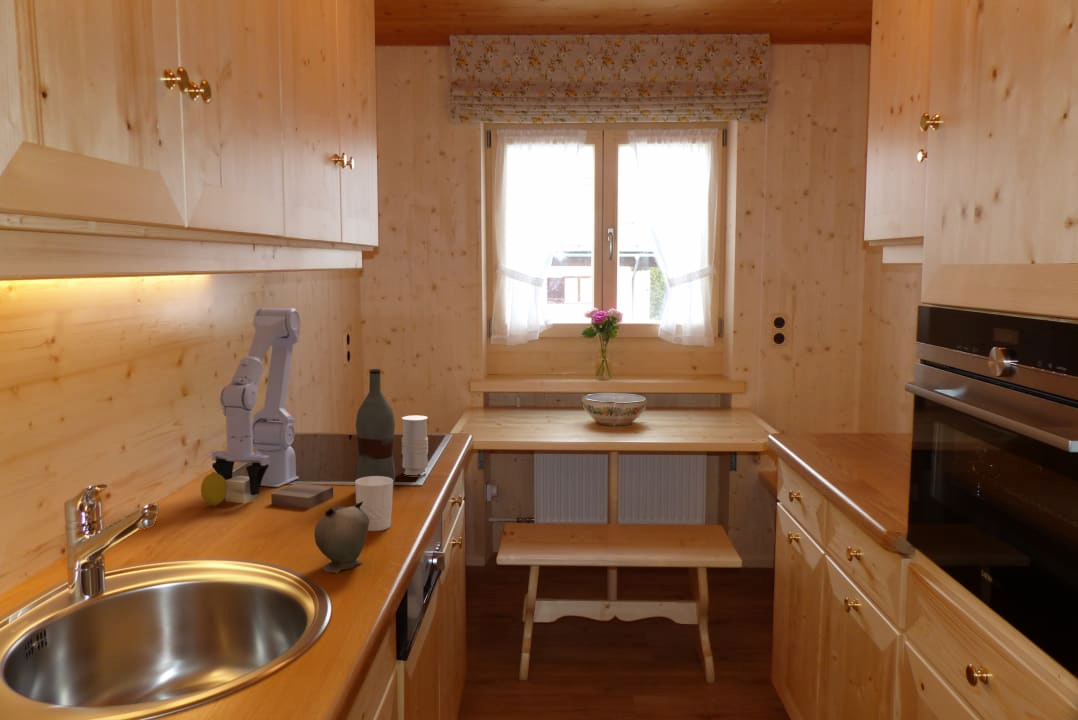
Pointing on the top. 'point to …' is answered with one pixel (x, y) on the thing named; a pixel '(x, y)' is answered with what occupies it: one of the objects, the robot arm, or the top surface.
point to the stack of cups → (414, 444)
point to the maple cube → (239, 490)
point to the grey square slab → (302, 495)
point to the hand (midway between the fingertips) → (241, 492)
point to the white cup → (375, 500)
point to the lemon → (214, 489)
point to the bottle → (375, 433)
